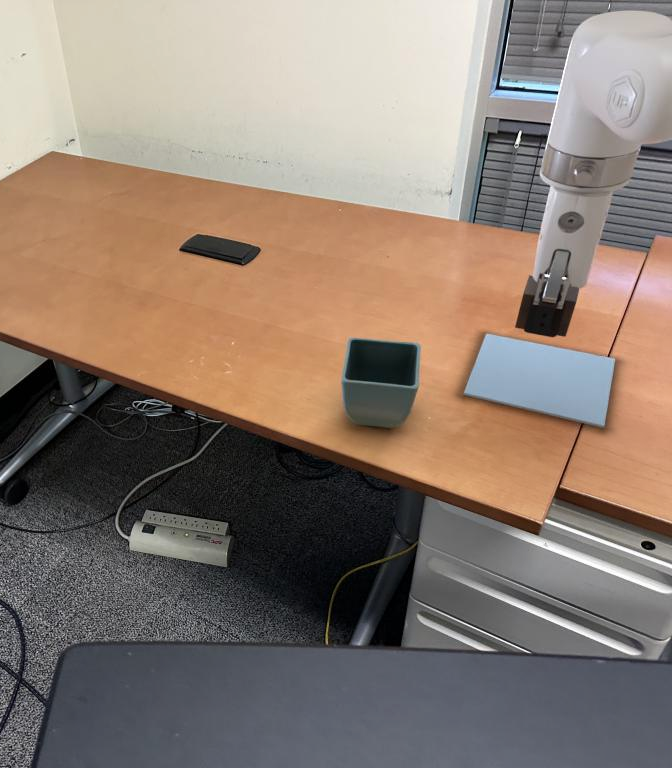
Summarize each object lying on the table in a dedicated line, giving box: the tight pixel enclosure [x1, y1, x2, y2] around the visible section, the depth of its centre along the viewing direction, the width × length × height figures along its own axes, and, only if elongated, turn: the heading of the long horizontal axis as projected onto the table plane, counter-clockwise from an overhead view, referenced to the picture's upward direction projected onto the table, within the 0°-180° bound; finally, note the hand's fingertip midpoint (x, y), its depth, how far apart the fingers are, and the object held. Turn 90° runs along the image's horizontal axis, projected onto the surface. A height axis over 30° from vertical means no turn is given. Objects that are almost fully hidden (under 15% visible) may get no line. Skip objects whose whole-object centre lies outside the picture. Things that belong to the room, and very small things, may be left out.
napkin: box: [463, 333, 616, 429], centre depth 90 cm, size 16×14×1 cm
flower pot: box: [340, 337, 422, 429], centre depth 86 cm, size 9×9×9 cm
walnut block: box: [514, 274, 580, 338], centre depth 75 cm, size 5×4×4 cm
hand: (543, 320), depth 76 cm, fingers closed on walnut block, 4 cm apart
